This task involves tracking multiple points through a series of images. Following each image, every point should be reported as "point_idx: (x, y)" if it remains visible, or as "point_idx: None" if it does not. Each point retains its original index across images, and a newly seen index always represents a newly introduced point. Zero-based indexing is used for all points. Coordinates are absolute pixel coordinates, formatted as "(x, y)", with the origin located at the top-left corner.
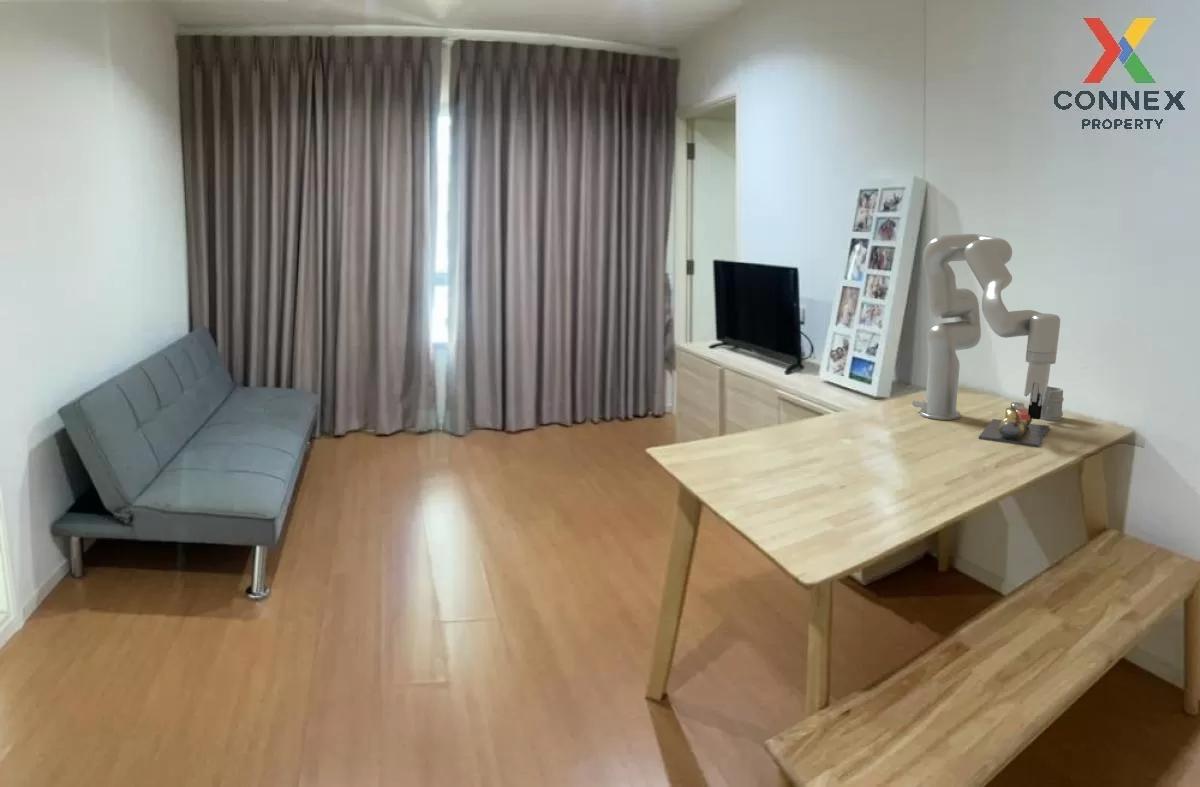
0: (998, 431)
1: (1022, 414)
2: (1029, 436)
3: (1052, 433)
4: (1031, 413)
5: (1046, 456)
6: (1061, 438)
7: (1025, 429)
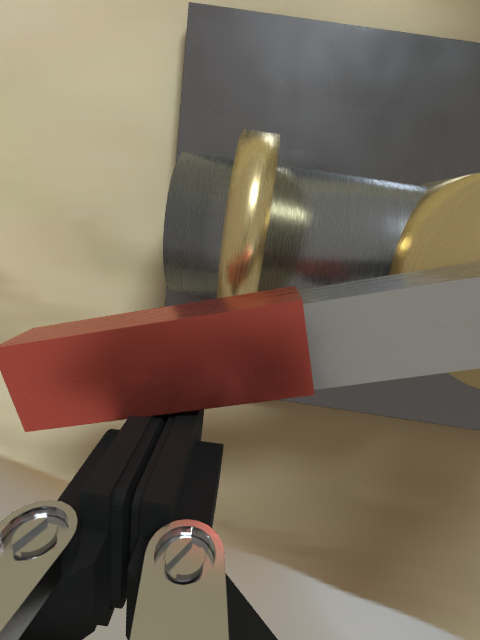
0: (374, 147)
1: (10, 357)
2: None
3: (465, 445)
4: (98, 447)
5: None
6: (374, 475)
7: None
